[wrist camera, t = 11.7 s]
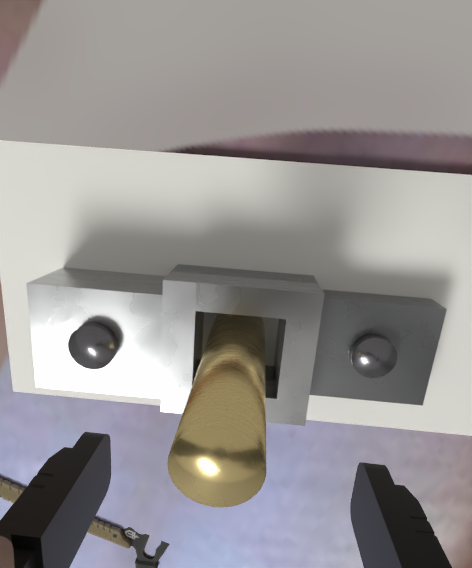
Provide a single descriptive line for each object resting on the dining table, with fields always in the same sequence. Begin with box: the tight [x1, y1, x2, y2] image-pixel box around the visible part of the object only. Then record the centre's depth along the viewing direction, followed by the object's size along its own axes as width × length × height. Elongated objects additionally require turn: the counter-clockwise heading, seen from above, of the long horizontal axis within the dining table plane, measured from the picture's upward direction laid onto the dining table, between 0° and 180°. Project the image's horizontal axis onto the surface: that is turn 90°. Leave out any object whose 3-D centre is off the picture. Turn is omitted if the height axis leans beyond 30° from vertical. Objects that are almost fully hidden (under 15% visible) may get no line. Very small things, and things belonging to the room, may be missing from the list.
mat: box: [0, 140, 472, 436], centre depth 22 cm, size 34×16×1 cm, turn 86°
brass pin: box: [168, 313, 266, 507], centre depth 17 cm, size 3×3×11 cm
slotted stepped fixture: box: [26, 264, 447, 426], centre depth 20 cm, size 22×8×4 cm, turn 86°
